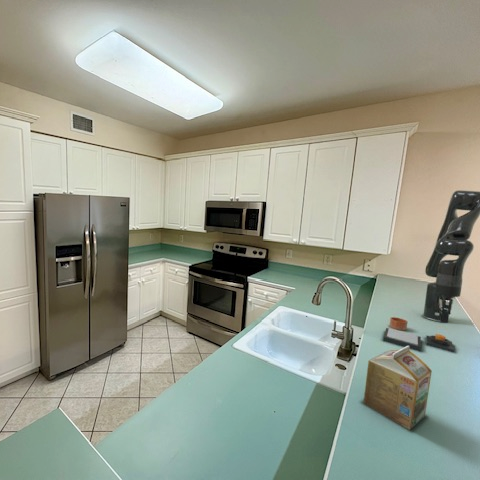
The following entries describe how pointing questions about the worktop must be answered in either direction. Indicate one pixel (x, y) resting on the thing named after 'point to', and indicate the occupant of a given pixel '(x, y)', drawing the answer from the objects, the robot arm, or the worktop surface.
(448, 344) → the block
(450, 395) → the worktop surface
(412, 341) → the scale
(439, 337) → the tare button
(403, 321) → the copper cup
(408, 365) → the milk carton
